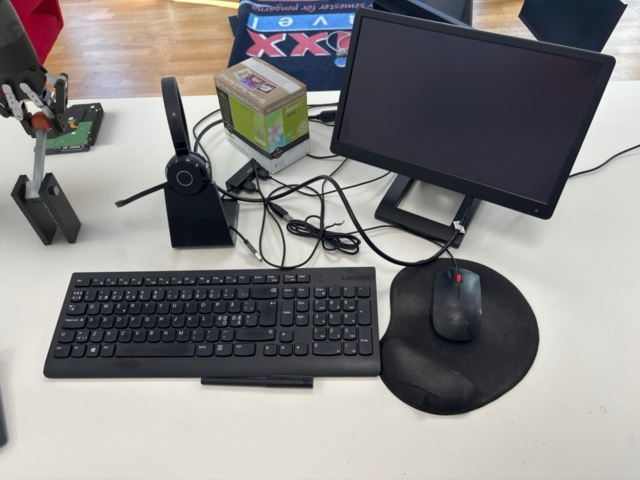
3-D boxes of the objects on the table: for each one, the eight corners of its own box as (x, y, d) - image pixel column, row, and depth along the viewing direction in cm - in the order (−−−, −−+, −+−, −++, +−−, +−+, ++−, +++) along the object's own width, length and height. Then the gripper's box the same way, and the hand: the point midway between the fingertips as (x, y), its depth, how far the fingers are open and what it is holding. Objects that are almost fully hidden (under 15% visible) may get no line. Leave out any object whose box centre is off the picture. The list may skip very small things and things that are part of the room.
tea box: (312, 152, 100) (308, 84, 89) (272, 176, 96) (262, 108, 84) (264, 119, 107) (255, 52, 96) (225, 140, 103) (210, 74, 92)
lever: (38, 118, 84) (27, 108, 81) (58, 116, 84) (48, 106, 81) (31, 204, 80) (19, 197, 77) (52, 203, 80) (41, 196, 77)
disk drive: (56, 117, 111) (38, 161, 101) (50, 106, 109) (32, 150, 99) (105, 112, 111) (92, 156, 102) (100, 101, 109) (86, 144, 99)
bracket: (50, 219, 90) (15, 163, 81) (96, 216, 91) (66, 159, 81) (33, 264, 84) (-8, 208, 74) (83, 260, 84) (48, 204, 74)
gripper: (53, 16, 74) (97, 117, 87) (-47, 23, 73) (12, 123, 86) (38, 43, 69) (87, 146, 82) (-69, 50, 68) (-3, 152, 81)
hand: (48, 134), depth 84 cm, fingers closed on lever, 3 cm apart
